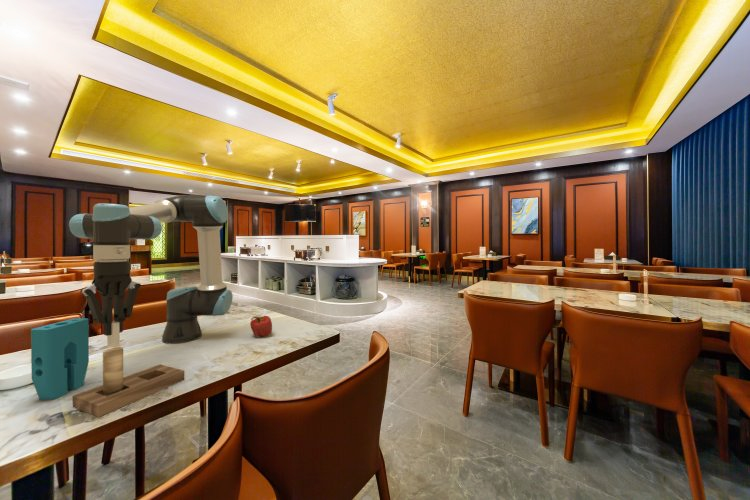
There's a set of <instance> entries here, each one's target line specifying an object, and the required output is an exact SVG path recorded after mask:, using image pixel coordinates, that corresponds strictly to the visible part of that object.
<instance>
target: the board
mask: <svg viewBox="0 0 750 500" xmlns="http://www.w3.org/2000/svg"><path fill="white" fill-rule="evenodd" d="M182 381H185V370H183V369H179V368H176V367H173V366H169V365H164V364H161V363H160V364H157V365H154V366H151V367H149V368H146V369H143V370H140V371H137V372H134V373H132V374H130V375H126V376H123V385H124V388H123V389H122V391H120V392H117V393H115V394H112V395H110V396H105V394H104V393H103V384H101V385H98V386H96V387H93V388H90V389H88V390H85V391H82V392H79V393H76V394H73V395H72V408H75V409H77V410H80V411H82V412H84V413H86V414H90V415H92V416H94V417H96V418H101V417H103V416H106V415H107V414H110V413H112V412H114V411H116V410H119V409H121V408H123V407H125V406H128V405H130V404H132V403H135V402H137V401H139V400H141V399H144V398H146V397H148V396H150V395H151V396H152V395H153V394H155V393H158V392H159V391H160V392H161V391H162V390H165V389H166V388H169V387H172V386H174V385H176V384H178V383H180V382H182Z"/></svg>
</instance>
